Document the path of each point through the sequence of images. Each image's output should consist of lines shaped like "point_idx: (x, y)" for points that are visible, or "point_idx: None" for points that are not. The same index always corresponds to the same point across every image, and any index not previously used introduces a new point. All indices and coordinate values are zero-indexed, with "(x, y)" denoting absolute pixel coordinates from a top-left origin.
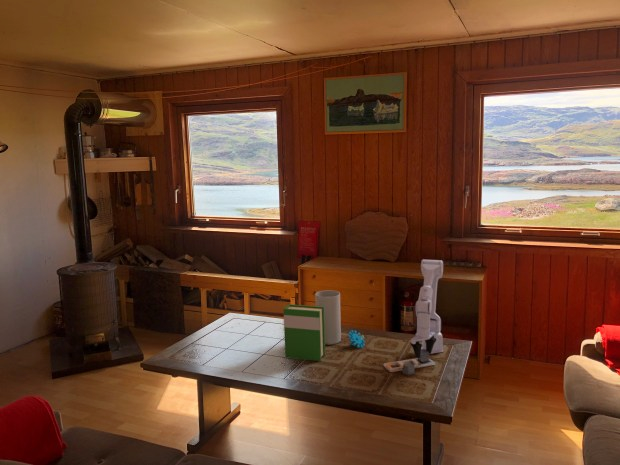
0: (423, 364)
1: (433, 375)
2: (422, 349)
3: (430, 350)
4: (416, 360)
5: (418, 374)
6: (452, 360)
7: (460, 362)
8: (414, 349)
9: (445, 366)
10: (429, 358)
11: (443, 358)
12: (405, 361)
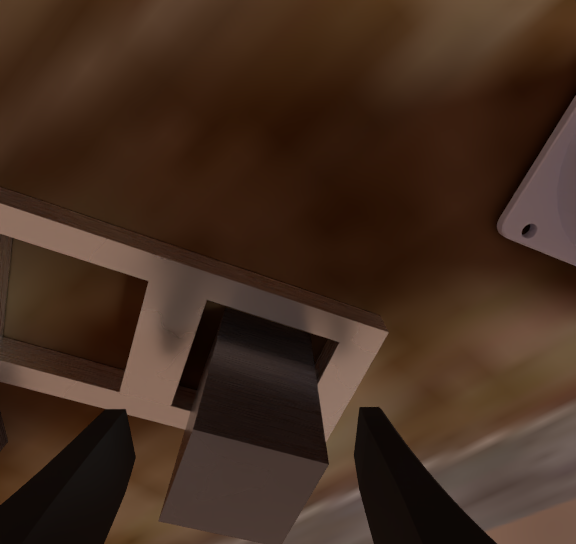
0: (181, 426)
1: (135, 532)
2: (274, 458)
3: (366, 505)
4: (191, 325)
5: (32, 468)
6: (512, 466)
7: (511, 516)
8: (7, 527)
9: (352, 497)
10: (359, 377)
11: (508, 400)
12: (54, 247)
